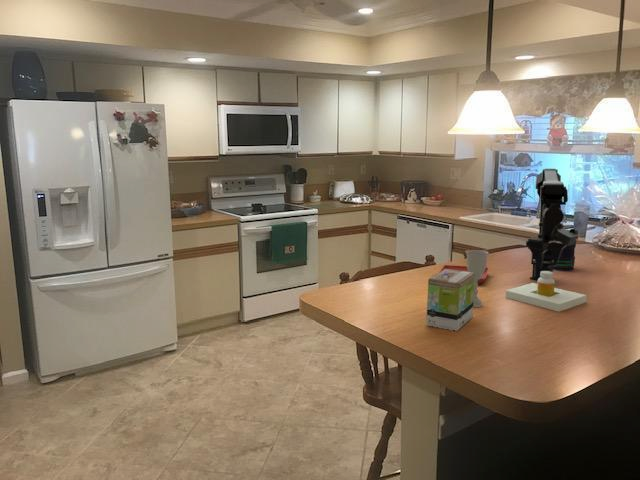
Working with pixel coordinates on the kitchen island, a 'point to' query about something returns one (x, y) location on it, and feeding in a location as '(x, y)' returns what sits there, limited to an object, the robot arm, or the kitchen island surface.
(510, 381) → the kitchen island surface
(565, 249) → the storage jar
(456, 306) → the tea box
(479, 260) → the chalice
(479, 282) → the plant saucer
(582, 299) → the socket board
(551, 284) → the supplement bottle
